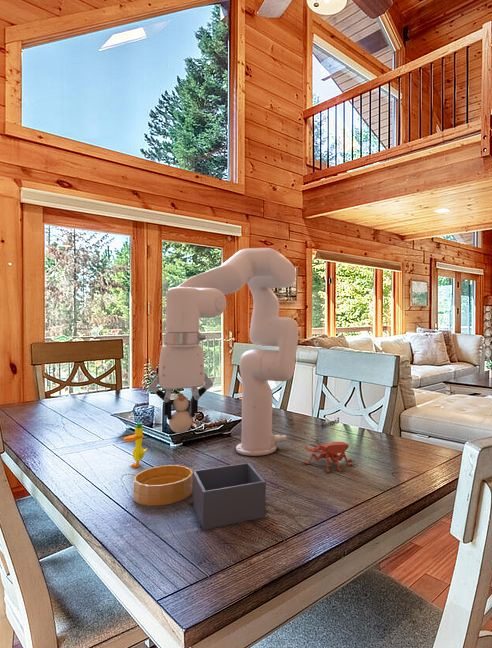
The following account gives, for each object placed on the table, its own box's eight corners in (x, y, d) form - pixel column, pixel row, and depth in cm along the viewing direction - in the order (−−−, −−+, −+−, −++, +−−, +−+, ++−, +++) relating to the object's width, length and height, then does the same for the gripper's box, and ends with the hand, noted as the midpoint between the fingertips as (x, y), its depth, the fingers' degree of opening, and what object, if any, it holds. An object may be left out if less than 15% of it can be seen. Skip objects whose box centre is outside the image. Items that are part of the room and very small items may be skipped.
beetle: (359, 462, 131) (360, 419, 132) (335, 475, 121) (335, 428, 121) (318, 452, 140) (319, 411, 140) (293, 463, 130) (293, 419, 130)
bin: (248, 493, 108) (249, 462, 109) (265, 517, 97) (265, 481, 97) (191, 504, 103) (192, 470, 103) (202, 530, 91) (203, 492, 91)
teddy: (190, 428, 109) (191, 391, 109) (193, 434, 104) (194, 395, 104) (167, 430, 106) (168, 392, 107) (169, 436, 102) (170, 397, 102)
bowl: (187, 481, 116) (188, 462, 116) (196, 501, 104) (197, 480, 104) (131, 490, 110) (132, 469, 110) (134, 512, 98) (134, 489, 98)
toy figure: (125, 471, 122) (127, 426, 122) (120, 467, 125) (121, 424, 125) (150, 464, 127) (151, 422, 127) (144, 461, 130) (145, 420, 130)
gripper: (215, 337, 113) (214, 410, 112) (142, 339, 105) (140, 417, 105) (221, 340, 106) (220, 417, 106) (144, 341, 99) (142, 424, 98)
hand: (180, 416), depth 105 cm, fingers closed on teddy, 4 cm apart
